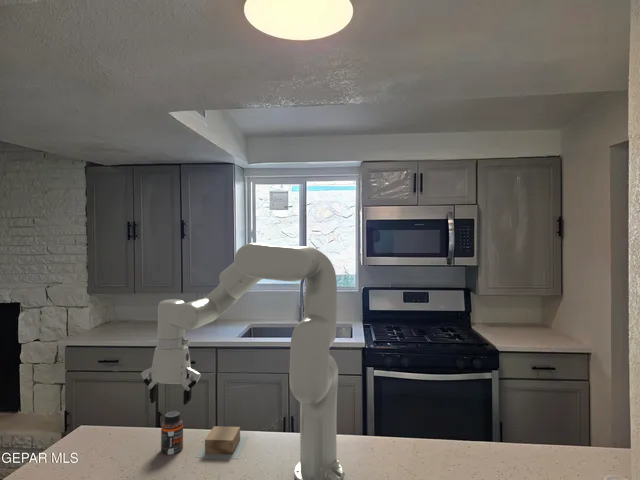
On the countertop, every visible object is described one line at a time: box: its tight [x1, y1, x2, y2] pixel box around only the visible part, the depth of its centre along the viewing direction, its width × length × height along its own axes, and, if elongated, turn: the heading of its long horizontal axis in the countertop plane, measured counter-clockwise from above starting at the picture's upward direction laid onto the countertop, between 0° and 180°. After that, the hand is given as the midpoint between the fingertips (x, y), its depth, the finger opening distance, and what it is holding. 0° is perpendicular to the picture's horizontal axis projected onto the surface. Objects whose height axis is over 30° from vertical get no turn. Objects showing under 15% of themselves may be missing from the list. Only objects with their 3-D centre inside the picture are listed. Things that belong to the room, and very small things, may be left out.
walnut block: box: [204, 425, 241, 455], centre depth 115 cm, size 8×8×4 cm
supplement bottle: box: [160, 410, 184, 456], centre depth 114 cm, size 6×6×11 cm
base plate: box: [195, 436, 249, 460], centre depth 115 cm, size 12×12×1 cm
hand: (170, 401), depth 114 cm, fingers open, 9 cm apart
